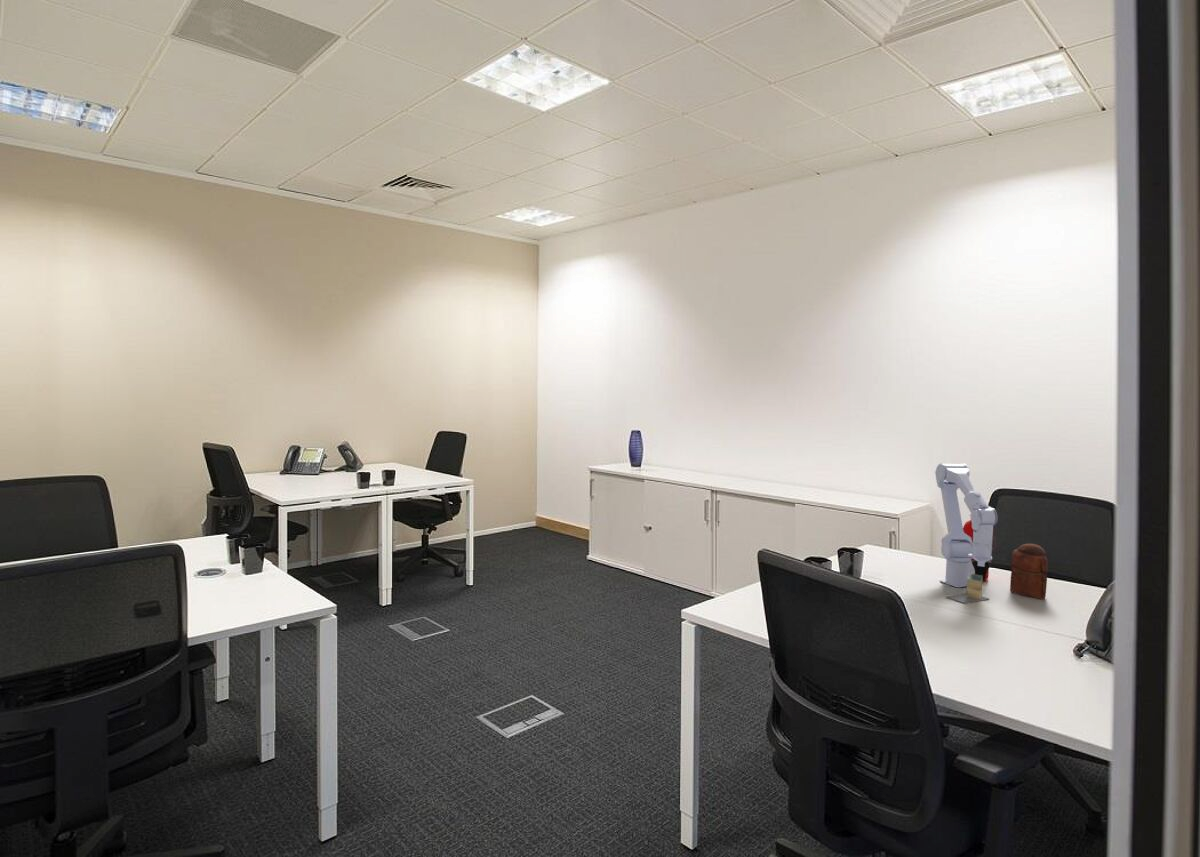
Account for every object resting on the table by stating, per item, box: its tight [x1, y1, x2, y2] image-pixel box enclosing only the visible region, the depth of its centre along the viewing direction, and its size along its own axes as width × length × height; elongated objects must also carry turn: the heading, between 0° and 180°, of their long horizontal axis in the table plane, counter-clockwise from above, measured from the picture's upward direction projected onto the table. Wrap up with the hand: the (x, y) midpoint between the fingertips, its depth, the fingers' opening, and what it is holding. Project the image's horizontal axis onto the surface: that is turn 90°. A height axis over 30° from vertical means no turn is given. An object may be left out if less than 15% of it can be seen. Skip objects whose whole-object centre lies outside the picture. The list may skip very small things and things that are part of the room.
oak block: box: [966, 573, 984, 599], centre depth 230 cm, size 4×4×7 cm
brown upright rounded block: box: [1009, 543, 1049, 600], centre depth 235 cm, size 12×6×18 cm, turn 39°
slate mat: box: [945, 592, 990, 605], centre depth 230 cm, size 12×7×1 cm, turn 113°
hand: (980, 582), depth 231 cm, fingers closed
